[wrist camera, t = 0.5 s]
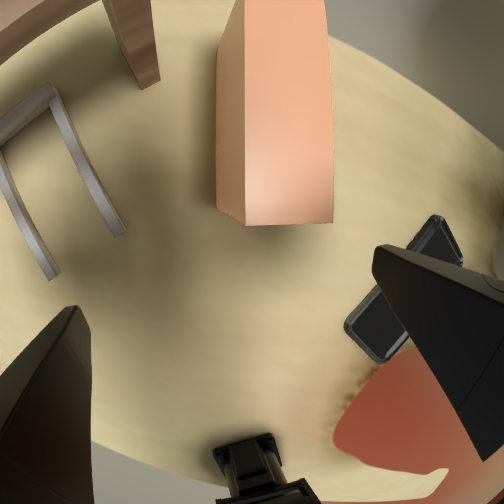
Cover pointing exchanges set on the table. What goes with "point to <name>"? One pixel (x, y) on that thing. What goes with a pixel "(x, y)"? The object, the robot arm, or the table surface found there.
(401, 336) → the phone
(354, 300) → the table surface
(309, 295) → the table surface
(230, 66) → the terracotta panel
